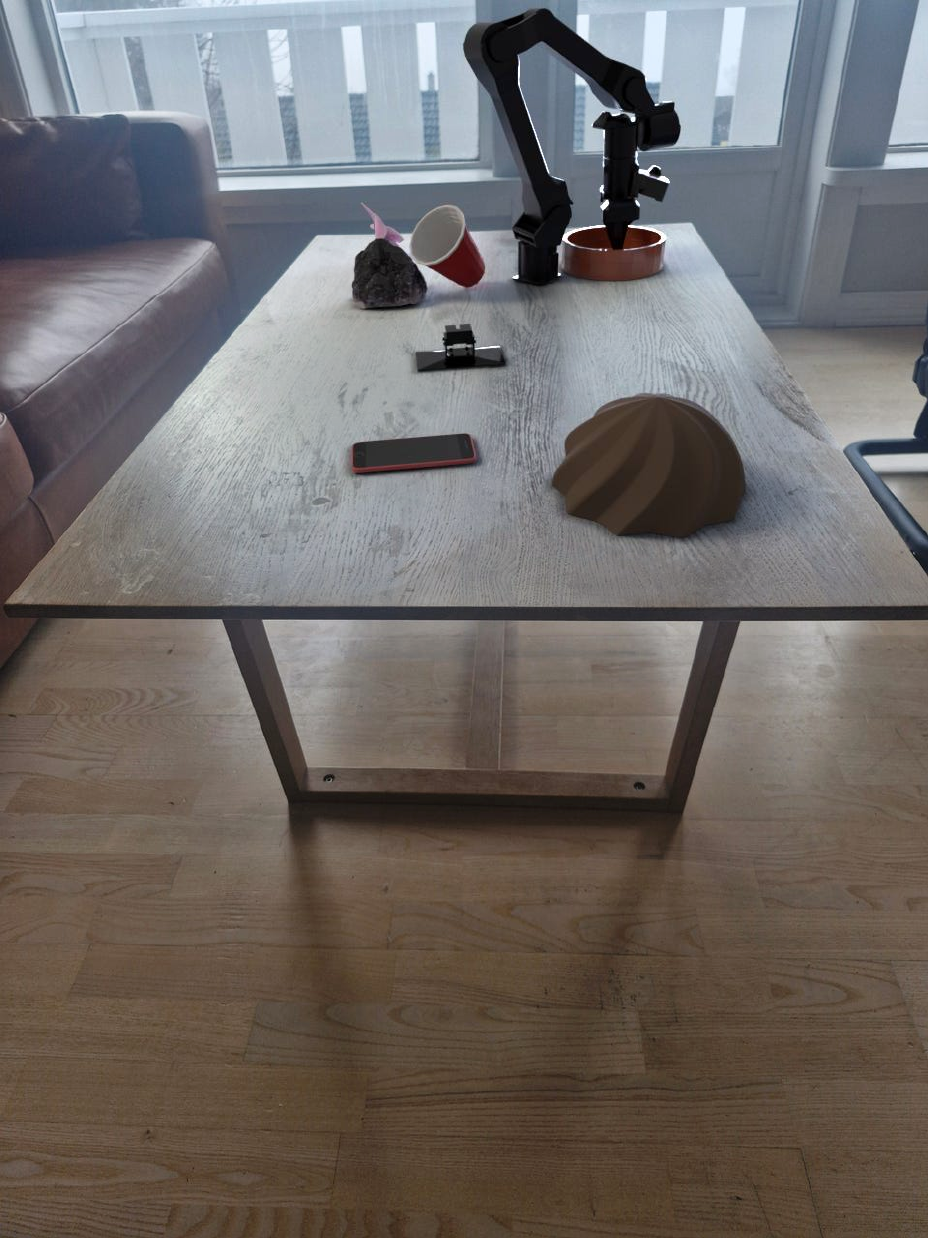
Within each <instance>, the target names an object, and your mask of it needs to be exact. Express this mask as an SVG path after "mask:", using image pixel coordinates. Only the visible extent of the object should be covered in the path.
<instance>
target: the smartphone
mask: <svg viewBox="0 0 928 1238" xmlns="http://www.w3.org/2000/svg"><path fill="white" fill-rule="evenodd" d="M350 457H351V458H350V460H351V461H350V469H351V471H352V472H353V473H357V474H362V473H374V472H384V471H385V472H387V471H398V470H410V469H420V468H431V467H432V468H433V467H444V466H455V465H456V466H457V465H466V464H467V465H468V464H473V463H475V462H476V460H477V453H476V449H475V445H474V441H473V437H472V435H471V434H469V433H464V432H463V433H452V434H451V433H450V434H438V435H428V436H427V435H426V436H416V437H403V438H391V439H381V440H368V441H357V442H355V443H353V444H352V445H351V455H350Z"/></svg>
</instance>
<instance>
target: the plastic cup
mask: <svg viewBox="0 0 928 1238" xmlns="http://www.w3.org/2000/svg"><path fill="white" fill-rule="evenodd" d="M408 248H409V253H410V257H411V259H412V260H413V261H414V263H415V264H417V265H418V264H419V265H422V266H424V267H427V268H429V269H430V270H433V271H434V272H436V273H438V274H439V275H441V276H442V277H444V278H445V279H447V280H449V281H451V282H453V283H455V284H457V285H458V286H460V287H464V288H466V289H467V288H472V287H474V286H476V285H478V284H479V282H481V280H482V279H483V277H484V275H485V273H486V263H485V260H484V257H483V255H482V254H481V252H480V251H479V248H478V246H477V244H476V242H475V241H474V239H473V237H472V235H471V233H470V231H469V230H468V227H467V224H466V219H465V215H464V213H463V211H462V210H461V209H460V208H459V207H458V206H456V205H452V204H445V205H440V206H436V207H435V208H434V209H432V210H430V211H429V212H427V213H426V214H425V215H424V216H423V217H422V218H420V220H419V221H418V222H417V224H416V225H415V227H414V230H413V231H412V233H411V235H410V241H409V245H408Z"/></svg>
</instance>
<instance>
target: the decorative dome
mask: <svg viewBox="0 0 928 1238" xmlns="http://www.w3.org/2000/svg"><path fill="white" fill-rule="evenodd" d="M563 447H564V453H565V458H564V459H563V460H562V462H561V463H560V465H558V467H557V468H556V470H555V471H554V472H553V476H552V480H551V486H552V487H553V489H555V490H556V491H558V492H559V494H561V495H562V496H563V497H564V498H565V512H566V514H568V515H570V516H575V517H579V518H582V519H587V520H591V521H594V522H597V523H599V524H600V525H601V526H603V527H604V528H605V529H607V530H608V531H610V532H611V533H613V534H614V535H615V536H627V535H638V534H639V535H640V534H648V533H649V534H650V533H651V534H658V535H661V536H662V535H663V536H669V537H675V538H688V537H689V536H691V535H692V534H694V533H695V532H697V531H698V530H699V529H701V528H703V527H704V526H709V525H715V524H716V525H717V524H721V523H727V522H732V521H734V520H735V518H736V515H737V512H738V508H739V505H740V501H741V497H742V496H743V495H745V494H746V493H747V485H746V484H747V483H746V475H745V474H746V473H745V469H744V464H743V461H742V457H741V454H740V451H739V449H738V447H737V445H736V443H735V440H734V439H733V438H732V436H731V434H730V433H729V432H728V430H727V429H726V428H725V427H724V426H723V424H722V423H721V422H720V421H719V420H718V419H717V418H716V417H715V416H714V414H712V413H711V412H710V411H708V410H707V409H706V408H704V406H702V405H700V404H699V403H697V402H695V401H693V400H690V399H688V398H684V397H680V396H674V395H672V394H670V393H667V392H660V393H650V392H639V393H636V394H634V395H632V396H627V397H621V398H617V399H614V400H611V401H608V402H606V403H605V404H603V405H602V406H600V407H599V408H598V409H597V410H596V411H595V413H594V414H593V416H591V417H590V418H588V419H587V420H585V421H584V422H582V423H580V424H579V425H577V426H576V427H575V428H574V429H573V430H571V431H570V432H569V433H568V434H567V435H566V437H565V440H564V446H563Z"/></svg>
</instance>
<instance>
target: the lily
mask: <svg viewBox="0 0 928 1238" xmlns="http://www.w3.org/2000/svg"><path fill="white" fill-rule="evenodd" d="M360 203H361V205H362V207H364V209H365V210H366V211H367V212H368V214H369V216H370V217H371V218H372V220H373V223H371V224H370V225H369V227H370V228H371V229H372V230H373V231H374V235H375V236H374V237H375V239H377V238H383V239H389V241H390V242H391V244H393V245H394V246H398V247H400V248H402V247H401V246H400V245H399V244H401V243H402V242H404V241H405V238H404V237H403V235H401V234H400V232H398V231H397V230H396V229H394V228H392V226H389V225H385V223H384V222H383V220H382V219H381V218H380V216H379V215H378V214H377V213H374V212H373V211H372V210H371V209H370V208H369V207H368V206H367V205H365V203H363V202H360Z"/></svg>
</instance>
